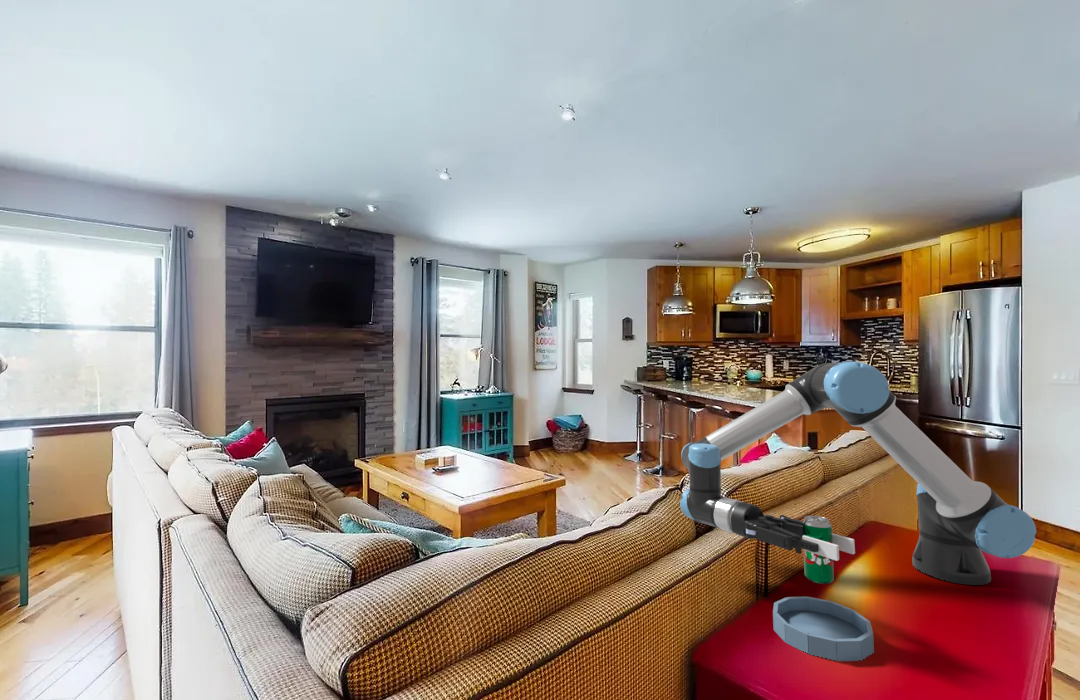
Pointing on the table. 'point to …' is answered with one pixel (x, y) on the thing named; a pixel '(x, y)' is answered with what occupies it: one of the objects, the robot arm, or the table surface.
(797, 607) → the bowl
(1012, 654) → the table surface
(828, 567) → the soda can
